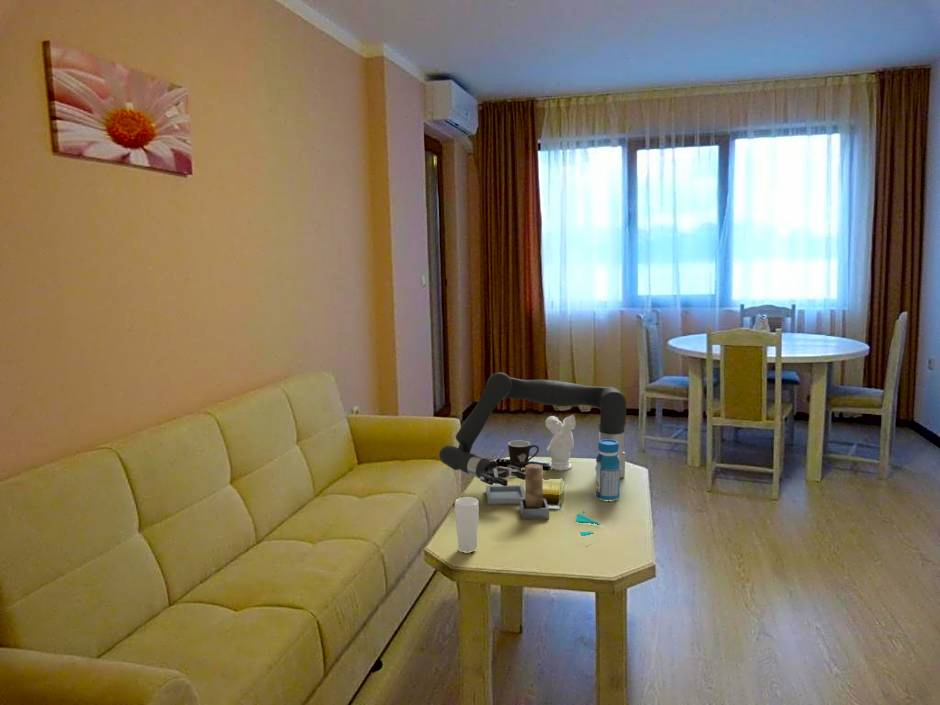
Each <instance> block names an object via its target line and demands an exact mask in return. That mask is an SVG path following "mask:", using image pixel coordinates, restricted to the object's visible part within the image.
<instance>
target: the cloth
mask: <svg viewBox="0 0 940 705" xmlns="http://www.w3.org/2000/svg"><path fill="white" fill-rule="evenodd" d="M582 513H586V512H585V510H583V511H582ZM582 513H577V514H576V516H577V518H576V517H575V520H576V521H575V520H574V523H575V522H578V523H591V524H594V523H595V524H597V525H601V523H599V522H598V521H595V520H593V519H591V517H588V516H585V515H584V514H582ZM579 532H580V534H581V536H586V535H590V534H594V533H593V532H594V531H579Z"/></svg>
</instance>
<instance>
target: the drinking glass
mask: <svg viewBox="0 0 940 705" xmlns="http://www.w3.org/2000/svg"><path fill="white" fill-rule="evenodd" d="M479 508H480V507H479V500H478V498H476V497H472V496H463V497H459V498H457V499H456V500H455V501H454V515H455V516H454V517H455V525H456V526H455V527H456V534H457V543H458V544H457V546H458V547H457V548H459V549H460V550H461V551H466V552H469V551H473V550H475V549H476V548H477V549H478V530H479V528H478V527H479V516H480V513H479V512H480V509H479ZM459 549H458V550H459ZM477 549H476V550H477Z"/></svg>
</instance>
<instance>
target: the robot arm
mask: <svg viewBox="0 0 940 705" xmlns="http://www.w3.org/2000/svg"><path fill="white" fill-rule="evenodd" d="M503 399H516V400H517V399H518V400H526V401H529V402H533V403H539V404H543V405H549V406H557V407H573V406H574V407H575V406H589V407H595V408H599V409H600V420H599V424H598V442H599V441H600V440H604V439H611V440H616V441H618V443H619V450H618V452H617V454H618V456H619V458H620V461H621V462H620V464H619V465H620V467H621V471H620V479H621V478H622V477H623V478H624V477H625V476H626V452H625V426H626V420H627V419H626V418H627V400H626V397H625V395H624V394H623V392H622V391H621V390H620V389H618V388H616V387H615V386H589V385H583V384H577V383H575V382H574V383H573V382H567V381H562V380H555V379H554V380H553V379H520V378H515V377H510V376H509V375H508V374H507V373H505V372H500V371H499V372H495V373H493V374H491V375H490V376H489V378H488V379H487V382H486V385H485V388H484V391H483V393H482V395H481V396H480V398H479V400H478V402H477V403H476V405H475V407H474V408H473V409H472V410H471V412H470V413H469V415H468V416H467V418H466V419H465V420H464V422H463V423H462V425H461V426H460V428H459V430H458V431H457V433H456V435H455V439H456V441H457V442H458V445H457V446H458V447H457V446H454V445H449V444H448V445H444V446H443V447H441V449H440V451H439V453H438V457H439V459H440V462H441V463H442V464H444V465H445V466H447V467H449V468H450V469H452V470H454V471H458V470H460V471H461V472H463V473H465V474H467V475H471V476H472V477H475V478H477V479H479V480H480V482H482V483H484V484H487V485H488V486H491V485H503V486H507V485H509V484H508V479H512V478H517V479H520V480H523V481H525V472H524V471H521V468H519V467H516V466H512V465H511V464H507V465H506V467H505V466H501V465H500V464H499V463H498V462H497V461H496V460H494V459H490V458H487V457H485V456H481V455H477V454H475V453H471V451H472V448H473V444H474V443H475V441H476V440H477V438H478V437H479V435H480V434H481V433H482V430H483V429H484V426H485V425H486V423H487V421H488V420H489V418H490V417H491V415H492V413H493V411H494V410H495V409H496V407H497V406H498V405H499V403H500V402H501V401H502V400H503ZM599 453H600V452H599V451H598V454H599ZM508 474H509V475H508ZM623 478H622V479H623Z"/></svg>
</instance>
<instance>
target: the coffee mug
mask: <svg viewBox="0 0 940 705" xmlns="http://www.w3.org/2000/svg"><path fill="white" fill-rule="evenodd" d="M507 445H508V446H507V448H508V455H509V456H508V457H509V463H510V464H509V465H512V466H516V467H519V468H522V467H525V466H526V465H529V461H530V460H531V459H533V458H534V457H536V456H537V454H538V453H539V450H540V449H539V446H538V445H535V444H532V445H531V442H529V441H528V440H527V441H526V440H521V439H519V440H510V441H509V442H508V443H507ZM534 447H535V448H536V452H535V453H534V454H533V455H531V456H530V450H531V449H532V448H534Z"/></svg>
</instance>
